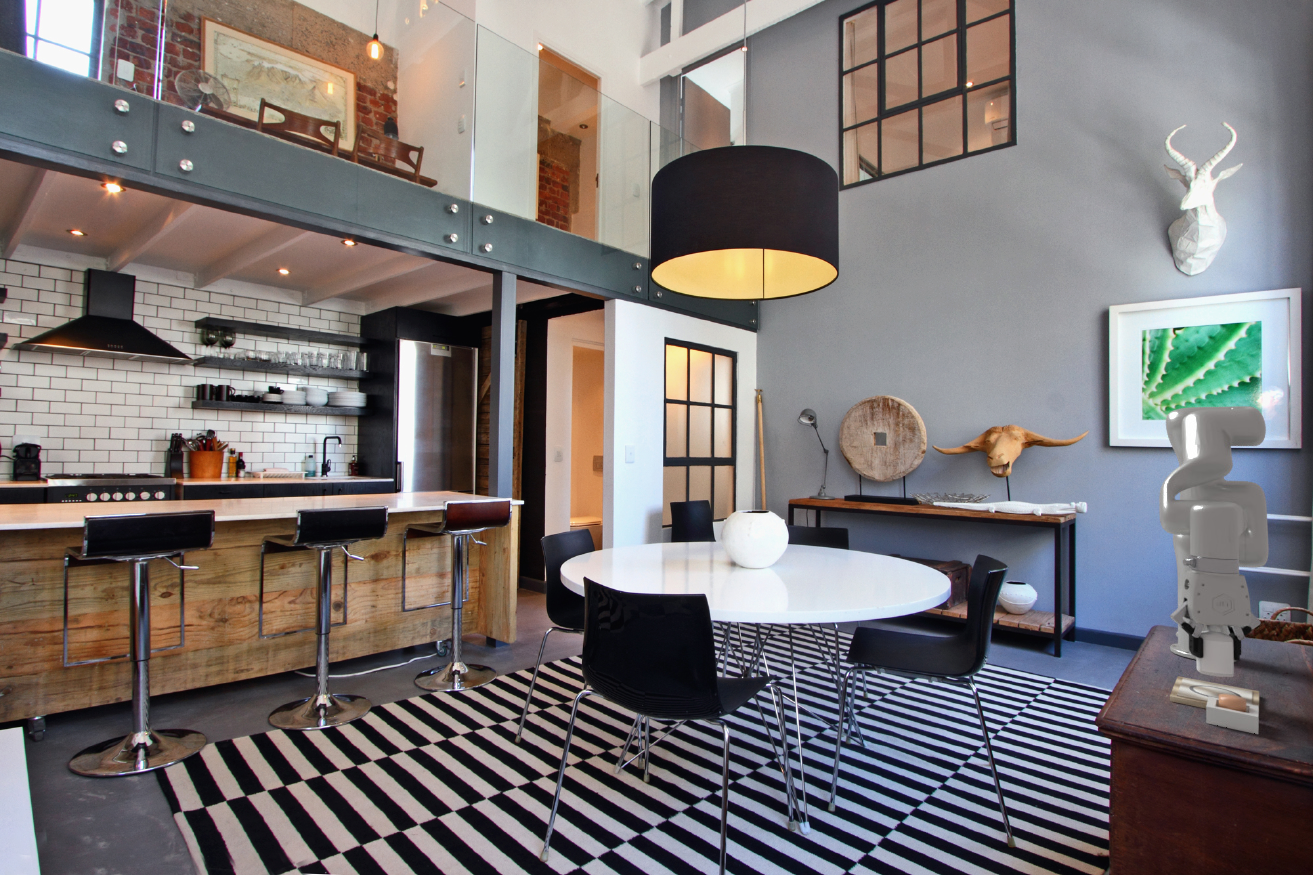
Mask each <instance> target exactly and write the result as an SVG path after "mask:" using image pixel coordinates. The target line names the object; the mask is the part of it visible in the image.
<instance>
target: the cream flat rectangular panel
mask: <svg viewBox="0 0 1313 875" xmlns="http://www.w3.org/2000/svg"><path fill="white" fill-rule="evenodd" d="M1219 694H1229V695H1235V696H1239V697H1242V698H1244V699H1246V704H1251V705H1256V706H1259V707H1260V691H1259V690H1254V689H1249V688H1245V687H1244V688H1243V687H1239V686H1232V685H1227V684H1221V683H1216V682H1210V681H1206V680H1200V679H1195V678H1194V679H1193V678H1189V677H1183V676H1177V677H1176V680H1175V681H1174V685H1173V687H1172V690H1171V692H1170V695H1169V702H1172V703H1177V704H1181V705H1187V706H1193V707H1196V708H1201V709H1206V705H1207V701H1208V697H1209V696H1210V697H1215V698H1219Z"/></svg>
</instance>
